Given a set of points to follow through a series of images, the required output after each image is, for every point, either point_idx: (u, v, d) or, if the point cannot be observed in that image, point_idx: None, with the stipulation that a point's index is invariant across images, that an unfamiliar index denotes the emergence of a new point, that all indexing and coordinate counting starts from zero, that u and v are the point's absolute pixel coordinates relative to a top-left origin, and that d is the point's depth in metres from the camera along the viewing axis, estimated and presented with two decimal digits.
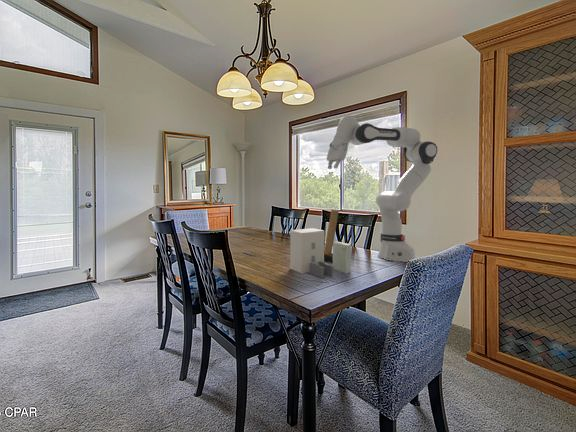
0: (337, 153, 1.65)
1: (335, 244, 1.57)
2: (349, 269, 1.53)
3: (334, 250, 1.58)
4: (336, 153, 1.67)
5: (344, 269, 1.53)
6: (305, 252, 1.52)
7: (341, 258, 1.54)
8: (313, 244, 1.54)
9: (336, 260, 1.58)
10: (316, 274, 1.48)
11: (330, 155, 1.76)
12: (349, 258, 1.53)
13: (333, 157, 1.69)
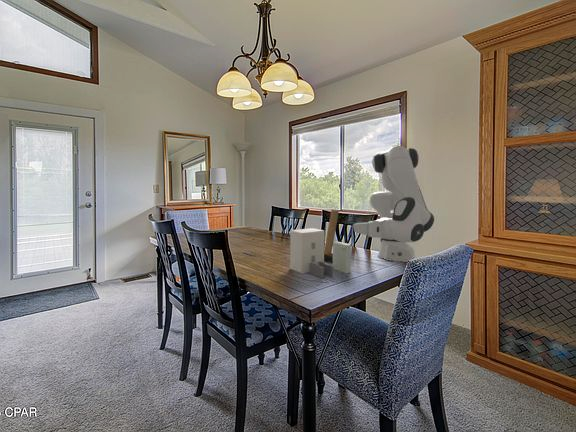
0: None
1: (335, 244, 1.57)
2: (349, 269, 1.53)
3: (334, 250, 1.58)
4: None
5: (344, 269, 1.53)
6: (305, 252, 1.52)
7: (341, 258, 1.54)
8: (313, 244, 1.54)
9: (336, 260, 1.58)
10: (316, 274, 1.48)
11: None
12: (349, 258, 1.53)
13: None
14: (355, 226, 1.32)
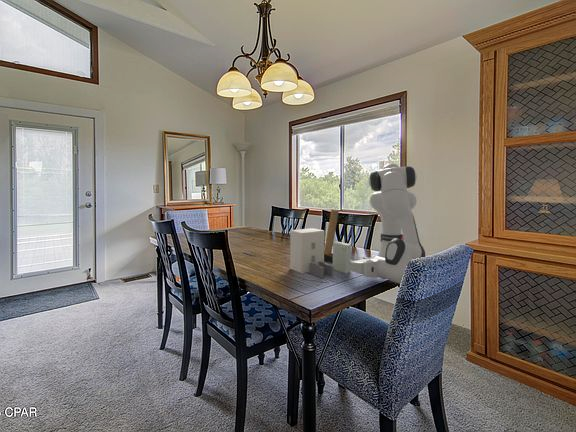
0: None
1: (335, 244, 1.57)
2: (349, 269, 1.53)
3: (334, 250, 1.58)
4: None
5: (344, 269, 1.53)
6: (305, 252, 1.52)
7: (341, 258, 1.54)
8: (313, 244, 1.54)
9: (336, 260, 1.58)
10: (316, 274, 1.48)
11: None
12: (349, 258, 1.53)
13: None
14: (350, 264, 1.37)
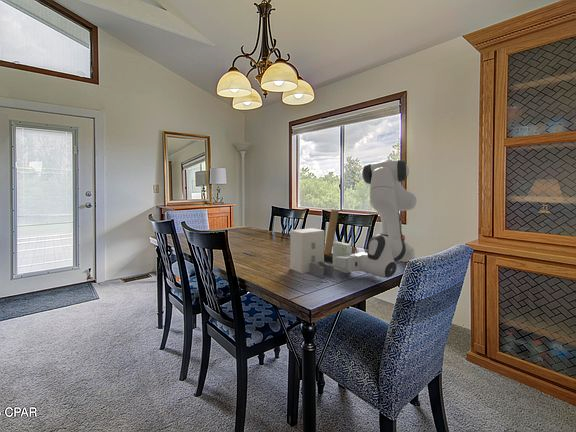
0: None
1: (335, 244, 1.57)
2: None
3: (334, 250, 1.58)
4: None
5: (344, 269, 1.53)
6: (305, 252, 1.52)
7: None
8: (313, 244, 1.54)
9: None
10: (316, 274, 1.48)
11: None
12: None
13: None
14: (336, 259, 1.45)
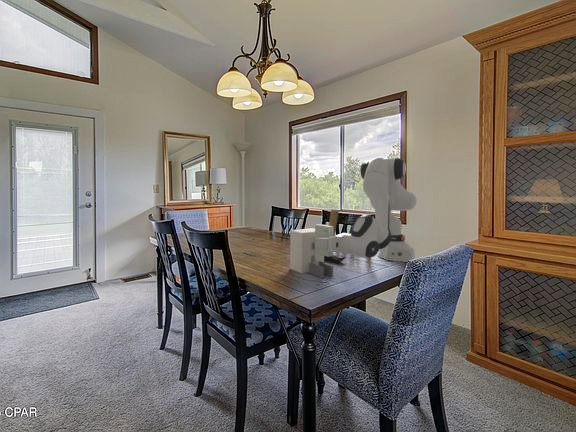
0: None
1: (317, 226, 1.50)
2: (331, 252, 1.45)
3: (316, 233, 1.51)
4: None
5: (326, 252, 1.45)
6: (305, 252, 1.52)
7: None
8: (313, 244, 1.54)
9: None
10: (316, 274, 1.48)
11: None
12: None
13: None
14: (316, 241, 1.37)
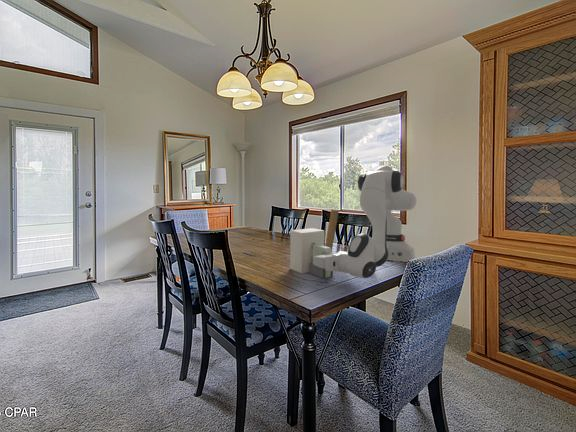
0: None
1: (315, 247, 1.50)
2: (329, 273, 1.46)
3: (314, 253, 1.51)
4: None
5: (324, 273, 1.46)
6: (305, 252, 1.52)
7: None
8: (313, 244, 1.54)
9: None
10: (316, 274, 1.48)
11: None
12: None
13: None
14: (314, 259, 1.38)
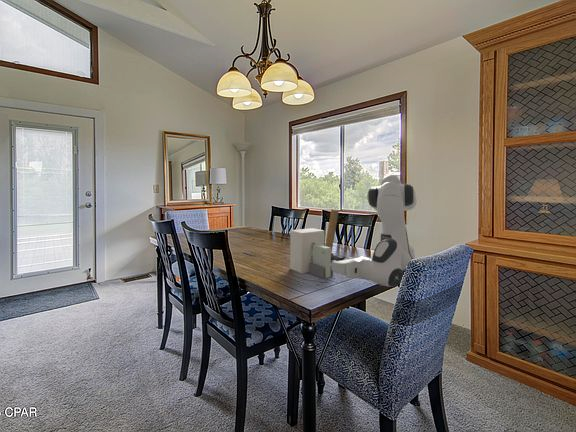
0: None
1: (315, 247, 1.50)
2: (329, 273, 1.46)
3: (314, 253, 1.51)
4: None
5: (324, 273, 1.46)
6: (305, 252, 1.52)
7: (321, 262, 1.47)
8: (313, 244, 1.54)
9: (316, 264, 1.51)
10: (316, 274, 1.48)
11: None
12: (329, 262, 1.45)
13: None
14: (333, 265, 1.27)
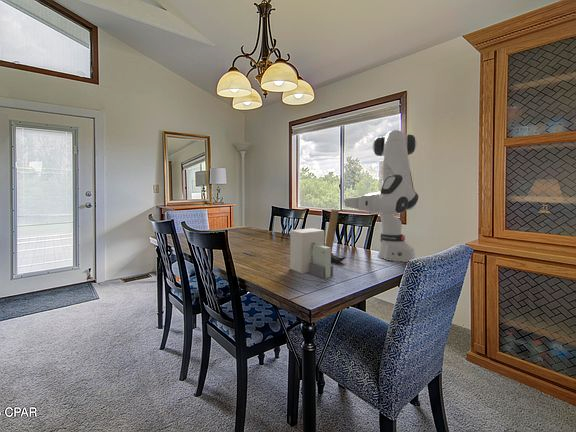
0: None
1: (315, 247, 1.50)
2: (329, 273, 1.46)
3: (314, 253, 1.51)
4: None
5: (324, 273, 1.46)
6: (305, 252, 1.52)
7: (321, 262, 1.47)
8: (313, 244, 1.54)
9: (316, 264, 1.51)
10: (316, 274, 1.48)
11: None
12: (329, 262, 1.45)
13: None
14: (346, 201, 1.44)
